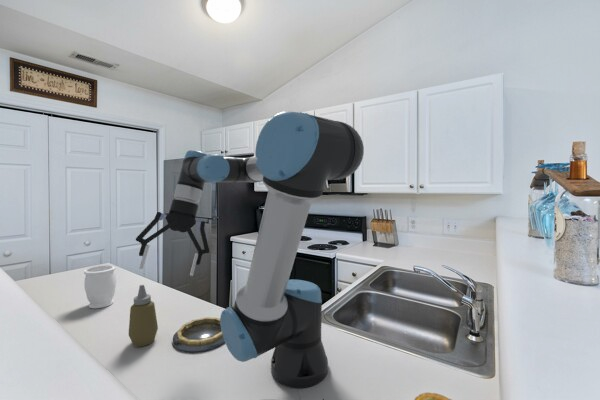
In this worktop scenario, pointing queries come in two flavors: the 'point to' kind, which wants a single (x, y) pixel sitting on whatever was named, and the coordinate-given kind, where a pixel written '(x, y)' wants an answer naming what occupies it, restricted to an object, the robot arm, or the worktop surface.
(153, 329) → the squeeze bottle
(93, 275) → the jar
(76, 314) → the worktop surface
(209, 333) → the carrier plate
